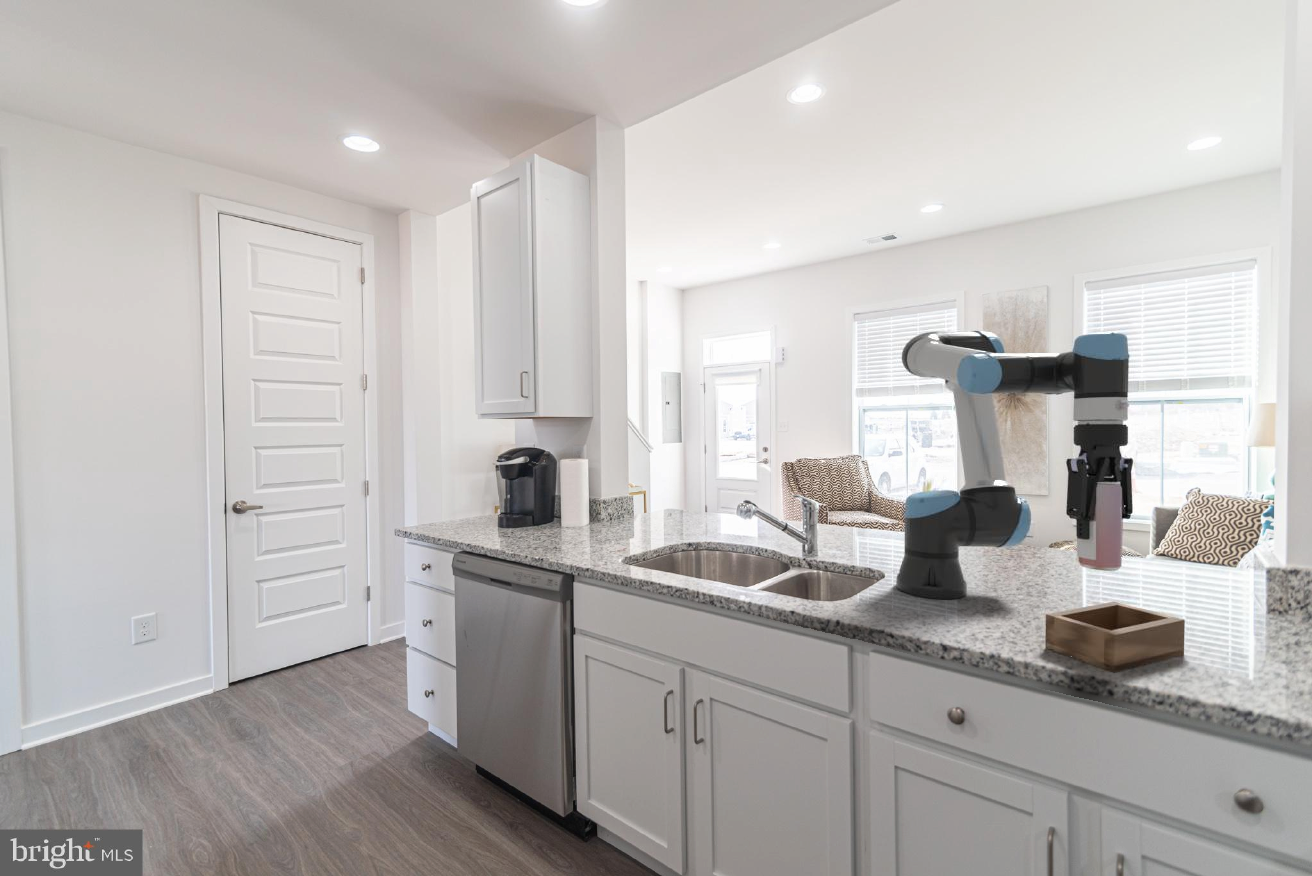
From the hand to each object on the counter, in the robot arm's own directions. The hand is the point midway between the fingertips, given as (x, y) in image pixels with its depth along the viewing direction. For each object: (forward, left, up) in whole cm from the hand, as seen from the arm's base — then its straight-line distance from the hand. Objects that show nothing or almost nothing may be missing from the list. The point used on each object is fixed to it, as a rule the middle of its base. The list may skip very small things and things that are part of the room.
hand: (1099, 556), depth 102 cm
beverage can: (0, 0, -2) cm, 2 cm away
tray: (+1, +2, -16) cm, 17 cm away
